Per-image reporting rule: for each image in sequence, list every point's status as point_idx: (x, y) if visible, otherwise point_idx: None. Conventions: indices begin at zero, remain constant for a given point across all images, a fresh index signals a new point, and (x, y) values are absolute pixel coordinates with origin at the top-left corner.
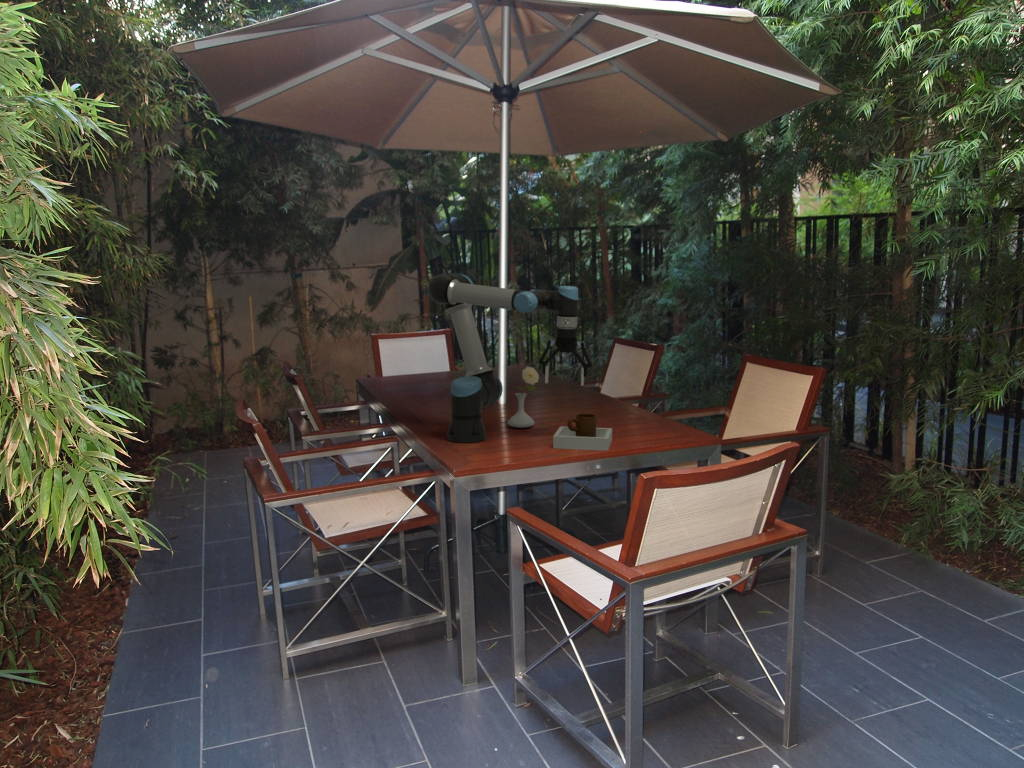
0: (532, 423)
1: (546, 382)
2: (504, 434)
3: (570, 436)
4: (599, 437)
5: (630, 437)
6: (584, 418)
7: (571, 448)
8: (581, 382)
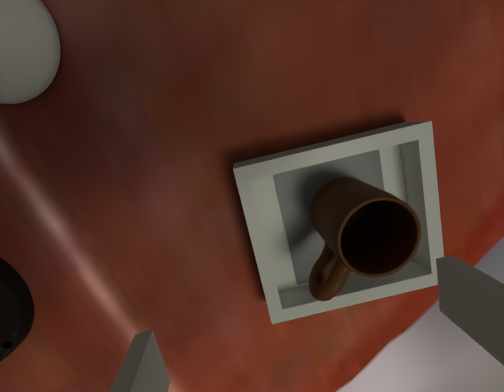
0: (56, 50)
1: (164, 387)
2: (36, 198)
3: (325, 305)
4: (416, 279)
5: (460, 54)
6: (381, 276)
7: None
8: (463, 326)
